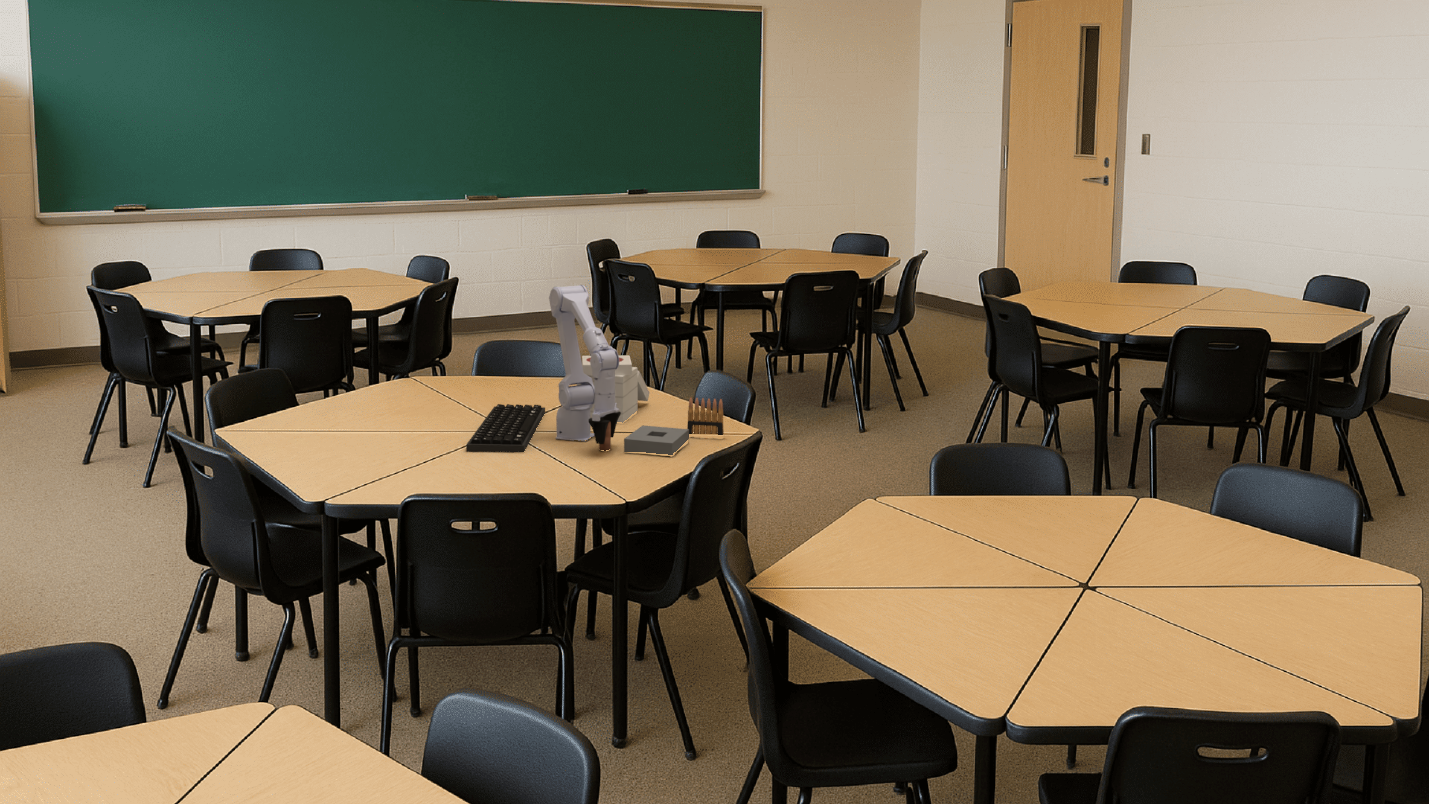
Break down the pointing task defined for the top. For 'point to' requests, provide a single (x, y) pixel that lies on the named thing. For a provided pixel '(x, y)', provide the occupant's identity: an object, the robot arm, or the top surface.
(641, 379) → the pizza boxes
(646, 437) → the socket block
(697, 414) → the ammunition clip
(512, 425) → the computer keyboard
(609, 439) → the peg
